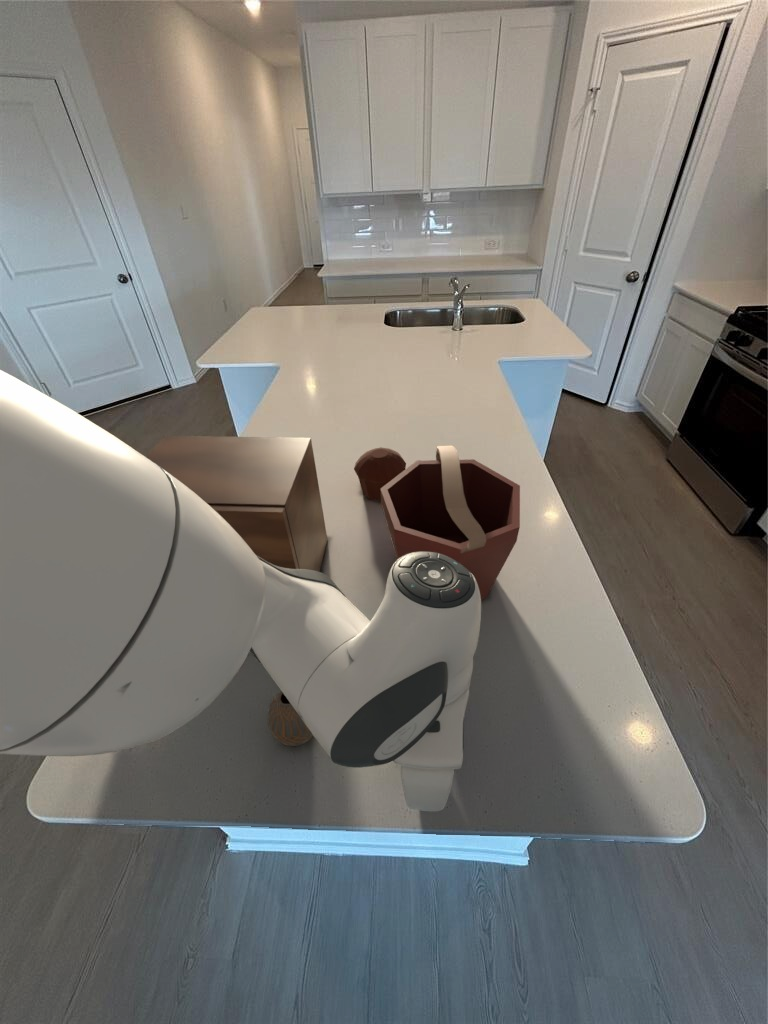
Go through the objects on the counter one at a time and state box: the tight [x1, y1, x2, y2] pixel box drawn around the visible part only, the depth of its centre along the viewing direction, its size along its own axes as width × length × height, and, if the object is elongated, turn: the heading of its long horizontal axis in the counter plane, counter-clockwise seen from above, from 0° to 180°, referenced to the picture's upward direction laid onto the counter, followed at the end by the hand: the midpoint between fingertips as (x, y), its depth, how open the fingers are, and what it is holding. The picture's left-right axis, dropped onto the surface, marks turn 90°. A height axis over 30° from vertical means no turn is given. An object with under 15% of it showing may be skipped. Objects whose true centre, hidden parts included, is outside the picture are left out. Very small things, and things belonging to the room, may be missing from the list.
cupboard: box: [145, 435, 328, 572], centre depth 76 cm, size 18×26×24 cm
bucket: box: [380, 445, 521, 601], centre depth 73 cm, size 24×22×25 cm
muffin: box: [353, 447, 407, 503], centre depth 99 cm, size 12×11×10 cm
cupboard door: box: [209, 505, 299, 569], centre depth 67 cm, size 6×26×24 cm, turn 85°
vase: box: [267, 690, 314, 747], centre depth 58 cm, size 7×7×9 cm
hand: (424, 731), depth 55 cm, fingers open, 6 cm apart
